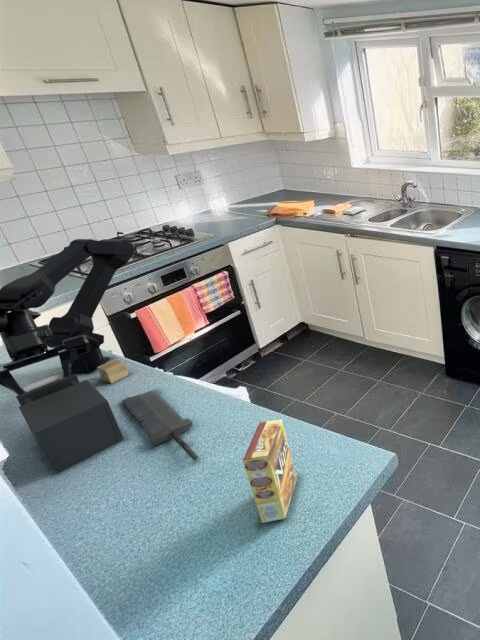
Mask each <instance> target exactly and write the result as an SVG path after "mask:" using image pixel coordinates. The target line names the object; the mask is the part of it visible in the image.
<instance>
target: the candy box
mask: <svg viewBox="0 0 480 640" xmlns="http://www.w3.org/2000/svg"><path fill="white" fill-rule="evenodd" d="M256 427H257V428H256V430H255V431H254V434H253V436H252V439H251V441H250V443H249V446H248V447H247V449H246V452H245V454H244V456H243V458H242V463H243V467H244V469H245V472H246V476H247V480H248V482H249V486H250V488H251V492H252V495H253V499H254V501H255V505H256V508H257V512H258V514H259V518H260V521H261V523H262V524H265V523H269V522H275V521H279V520H280V521H281V520H285V519H286V517H287V514H288V510H289V507H290V504H291V501H292V497H293V495H294V490H295V486H296V483H297V480H298V477H297V474H296V470H295V466H294V462H293V458H292V454H291V451H290V446H289V442H288V439H287V435H286V431H285V426H284V422H283V419H275V420H273V419H272V420H269V421H268V420H265V421H260V422H259V423H258V424H257V426H256Z"/></svg>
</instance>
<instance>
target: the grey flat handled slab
mask: <svg viewBox="0 0 480 640" xmlns="http://www.w3.org/2000/svg"><path fill="white" fill-rule="evenodd" d="M121 402H122V403H123V405H125V407H126V408H127V409H128V411H130V413H131V414H132V415H133V416H134V417H135V419H136V420H137V421H138V422H139V423H140V425H141V426H142V428H144V429H145V431H146V432H147V433H148V434H149V435H150V436H148V440H149V442H150V443H151V445H153V446H156V445H159V444H161V443H163V442H167V441H169V440H172V439H174V441H175V442H176V443H177V444H178V445H179V446H180V448H182V449H183V451H184V452H185V453H186V454H187V455H188V456H189V457H190V458H191V460H193V461H196V460H197V459H198V458H199V456H198V455H197V454H196V452H195V451H193V449H192V448H191V447H190V446H189V445H188V444H187V443H186V441H184V440H183V439H182V438H181V436H180V435H181V434H183V433H184V432H185V431H187V430H188V429H190V428H192V427H193V422H192V421H191V420H190V419H189V418H188V417H187V418H182V417H181V416H180V414H179V413H178V412H177V411H175V409H174V408H173V407H172V406H171V405H170V404H169V403H168V402H167V401H166V400H165V399H164V398H163V397H162V396H161V395H160V394H159V393H158V392H157V391H156V390H149V391H147V392H144V393H142V394H137V395H133V396H130V397H129V396H128V397H126V398H124V399H122V400H121Z"/></svg>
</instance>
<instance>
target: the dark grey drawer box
mask: <svg viewBox="0 0 480 640" xmlns="http://www.w3.org/2000/svg"><path fill="white" fill-rule="evenodd" d="M79 382H80V383H77V384H75V385H72V386H70V387H67V388H65V389H62V390H60V391H57V392H55V393H52V394H50V395H47V396H45V397H42V398H40V399H37V400H35V401H33V402H30V403H28V404H25V405H23V406H21V405H20V406H18V409H19V411H20V413H21V415H22V417H23V419H24V420H25V423H26V424H27V426H28V428H29V430H30V432H31V434H32V436H33V438H34V440H35V441H36V444H37V445H38V447H39V448H40V450H41V452H42V454H43V455H44V456H45V458H46V459H47V461H48V463H49V464H50V466H51V467H52V468H53V471H55V473H56V474H59V473H61V472H63V471H65V470H67V469H69V468H71V467H73V466H75V465H76V464H78V463H80V462H82V461H84V460H87V459H88V458H90V457H92V456H94V455H96V454H98V453H100V452H102V451H104V450H106V449H108V448H110V447H112V446H114V445H116V444H117V443H120V442H121V441H124V440H125V438H124V436H123V434H122V431H121V429H120V427H119V425H118V421H117V420H116V417H115V415H114V412H113V410H112V408H111V406H110V402H109V401H108V400H107V399H106V398H105V397H104V395H102V393H101V392H100V391H99V390H98V389H97V388H96V387H95V386H94V385H93V384H92V383H91V382H90V381H89V380H88V379H85V380H83V381H79Z"/></svg>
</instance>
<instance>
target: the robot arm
mask: <svg viewBox="0 0 480 640" xmlns="http://www.w3.org/2000/svg"><path fill="white" fill-rule="evenodd" d="M134 253H135V247H134V245H133V243H132V242H131V241H130V240H129V239H114V238H113V239H112V238H111V239H110V238H107V239H106V238H104V239H99V240H97V239H96V240H95V239H92V238H77V239H73V240H71V241H70V243H69V244H68V245H67V246H66V247H65V248H63V250H61V251H60V252H59V253H57V254H56V255H54V257H52V258H51V259H50V260H48V261H47V262H45V264H43V265H41V267H39V268H38V269H37V270H35V271H34V272H32V273H30V274H28V275H24V276H22V277H19V278H16V279H14V280H12V281H11V282H8V283H7V284H5V285H3V286H2V287H1V288H0V337H1V340H2V342H3V344H4V346H5V350H6V352H7V354H8V356H9V358H10V360H11V361H9V362H6V363H2V364H0V386H2V387H4V388H6V389H8V390H10V391H12V392H13V393H14V394H16V396H18V395H20V394H23V393H24V391H23V390H22V387H21V386H20V385H19V383H18V382H17V380H16V379H15V378H14V376H13V375H12V373H11V372H12V371H15V370H18V369H21V368H25V367H28V366H31V365H33V364H37V363H40V362H43V361H46V360H50V359H52V358H56V357H58V358H59V361H60V365H61V369H62V374H63V375H64V377H67V376H70V375H72V374H84V373H85V374H86V373H94V372H95V371H97V370H98V369H97V367H99V366H101V365H103V364H105V363H107V362H109V360H111V357H110V356H103V353H102V350H101V348H100V347H101V345H103V344H104V343H105V336H104V334H100V333H95V332H94V329H95V326H94V321H93V316H94V314H95V312H96V311H97V309H98V306H99V304H100V302H101V301H102V299H103V297H104V295H105V293H106V291H107V289H108V287H109V286H110V283H111V281H112V279H113V277H114V275H115V274H116V272H117V271H118V270H119V269H121V268H122V267H124V266H125V265H127V264H128V263H129V261H130V259H131V258H132V257H133V255H134ZM88 258H91V261H92V267H91V269H90V271H89V272H88V274H87V276H86V278H85V279H84V281H83V283H82V285H81V287H80V289H79V290H78V292H77V294H76V296H75V298H74V299H73V302H72V304H70V307H69V309H68V311H66V313H65V314H64V315H62V316H60V317H59V316H53V317H51V319H50V321H49V324H48V323H47V324H44V325H39V326H37V323H36V322H35V320H36V319H38V318H39V317H41V316H42V314H41V313H40V312H38V311H34V310H31V309H37V308H41V307H42V306H44V305H45V304H46V303H47V302H48V301H49V300H50V299H51V297H52V296H53V295H54V293H55V290H56V286H57V285H58V284H59V283H60V282H61V281H62V280H63V279H64V278H66V276H68V275H69V274H70V273H72V272H73V271H74V270H75V269H76V268H78V267H79V266H80V265H81V264H82V263H84V262H85V261H86V260H87V259H88ZM48 348H50V349H48Z"/></svg>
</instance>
